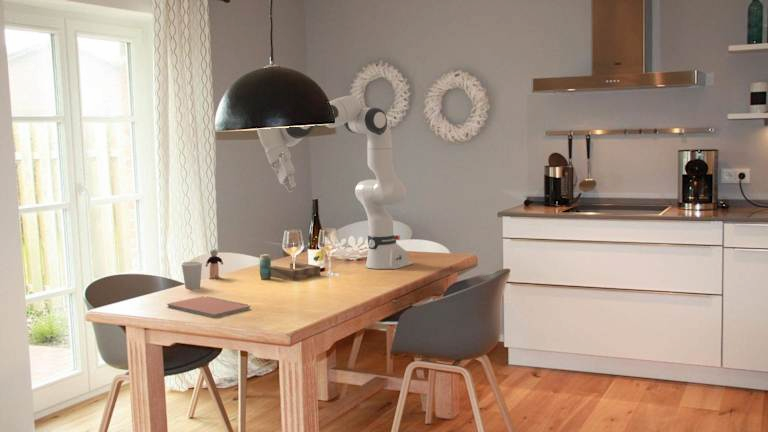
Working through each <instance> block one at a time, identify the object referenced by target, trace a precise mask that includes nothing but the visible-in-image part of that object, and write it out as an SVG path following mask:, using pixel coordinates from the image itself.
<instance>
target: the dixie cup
mask: <svg viewBox="0 0 768 432" xmlns="http://www.w3.org/2000/svg"><path fill="white" fill-rule="evenodd" d="M180 265H181V269H182V275H183V281H184V287H185V289H186V290H196V289H200V288H201V280H202V270H203V269H202V267H203V262H202V261H199V260H198V261H197V260H196V261H195V260H192V261H184V262H182V263H181V264H180Z"/></svg>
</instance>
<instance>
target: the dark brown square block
mask: <svg viewBox="0 0 768 432" xmlns="http://www.w3.org/2000/svg"><path fill="white" fill-rule="evenodd" d="M293 263H295V269H293ZM320 276H321V266H320V265H314V264H308V263H303V262H296V261H295V262H289V267H285V266H278V265H273V266H272V265H271V275H270V278H271V277H272V278H276V279H277V278H278V279H282V280H287V281H292V282H294V281H295V282H296V281H298V280H299V281H300V280H304V279H310V278H313V277H314V278H315V277H320Z"/></svg>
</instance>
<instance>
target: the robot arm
mask: <svg viewBox="0 0 768 432" xmlns="http://www.w3.org/2000/svg"><path fill="white" fill-rule="evenodd" d="M328 102H329V103H330V105H331V107H332V110H333V113H334V117H335V123H334V124H329V125H324V126H325V127H327V128H329V129H334V128H337V127H340V126H344V128H345V129H346V130H347V131H348V132H350V133H353V134H365V135H366V138H367V145H366V146H367V149H366V150H367V151H366V152H367V153H366V154H367V156H366V157H367V167H368V169H369V170H370V171H372V172H373V173H374V175H375V177H376V179H364V180H360V181H359V182H358V183H357V184H356V187H355V189H354V191H355V193H354V194H355V197H356V199H357V200H358V201H359V202H360V203H361V205H362V206H363V208H364V210H365V213H366V217H367V225H368V235H367V245H368V247H367V256H366V262H365V267H366V268H368V269H375V270H385V269H386V270H388V269H390V270H392V269H393V270H397V269H401V268H404V267H406V266H410V265H413V264H414V263H413V262H414V261H412V260H408V254H407V253H408V252H407V250H405V249H404V248H403V247H401V246H400V244H398V243H397V241H399V240H400V239H401V236H400V235H397V234H396V235H395V234H394V219H393V216H392V215H391V214H390V213H389V212H388V211H387V209H386V207H385V206H394V205H399V204H401V203H403V202H404V200H406V196H407V189H406V187H405V185H404V184H403V183H402V181H400V180H399V178H398V176H397V175H396V172H395V168H394V163H393V161H394V160H393V159H394V158H393V139H392V133H391V129H390V127H389V125H388V118H387V115H386V113H385V111H384V110H383V109H381V108H379V107H378V108H377V107H362V104H361V101H360V100H359V99H358V98H357V97H356V96H354V95H345V96H342V97H341V96H340V97H338V98H335V99H333V100H329V101H328ZM318 126H320V125H315V126H304V127H289V128H271V129H257V128H256V130H257V135H258V138H259V141H260V144H261V145H262V146H263V149H264V150H265V155H266V157H267V160H268V163H269V167H270V168H271V169H273V172H274V175H275V176H276V178H277V180H278V182H279V183H280V185H284V186H285V188H286V190H287V191H288V193H291V192H293V191H294V189H293V188H294V187H296V186H297V183H296V181H295V179H296V178H295V176H294V173H295V171H296V170H295V167H294V164H293V162H292V160H291V158H292V156H291V152H290V150H289V149H288V148H290V147H294V146H296V145H297V144H298V143H300V142H301V140H303V139H305V137H307V136H308V135H310V134H311V132H312V131H313V130H314V128H316V127H318Z"/></svg>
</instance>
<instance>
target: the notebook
mask: <svg viewBox="0 0 768 432" xmlns="http://www.w3.org/2000/svg"><path fill="white" fill-rule="evenodd" d="M166 305H167V308H168V309H169V308H170V309H172V310H173V309H174V310H178V311H183V312H188V313H191V314H196V315H200V316H204V317H205V316H206V317H209V318H214V319H215V318H219V317H224V316H227V315H231V314H236V313H239V312H244V311H249V310H250V309H251V305H248V303H242V302H238V301H237V302H236V301H232V300H227V299H222V298H218V297H217V298H216V297H212V296H197V297H193V298H188V299H184V300H179V301H175V302H174V301H173V302H169V303H166Z"/></svg>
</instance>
